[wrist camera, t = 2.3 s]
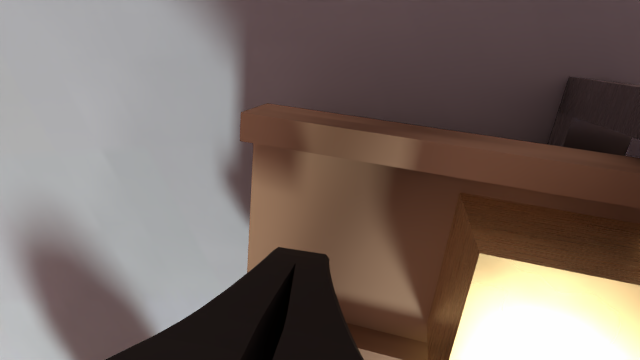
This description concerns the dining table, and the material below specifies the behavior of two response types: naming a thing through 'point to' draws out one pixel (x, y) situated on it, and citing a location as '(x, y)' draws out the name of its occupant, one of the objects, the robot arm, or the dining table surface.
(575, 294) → the block
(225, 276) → the dining table surface
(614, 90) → the stand
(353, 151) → the beam
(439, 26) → the dining table surface
